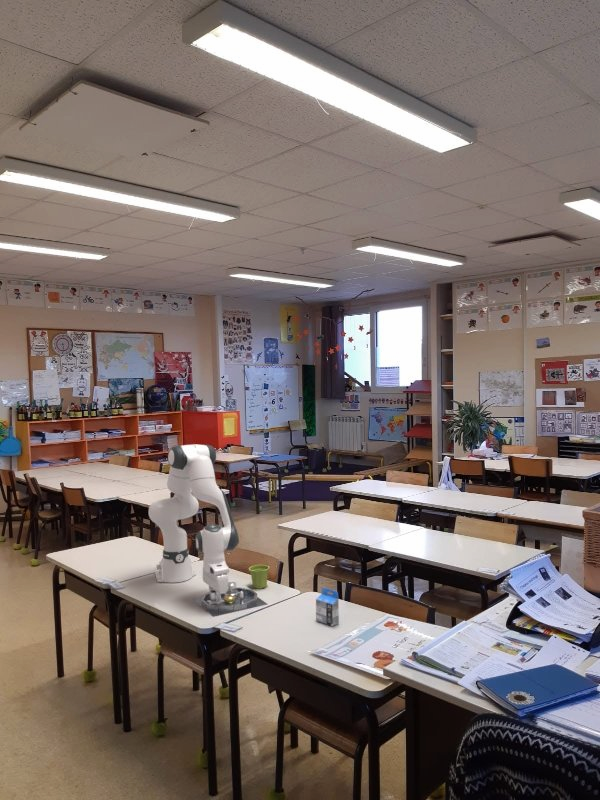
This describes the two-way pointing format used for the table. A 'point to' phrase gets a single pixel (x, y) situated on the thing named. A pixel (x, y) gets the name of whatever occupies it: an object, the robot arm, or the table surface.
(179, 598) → the table surface
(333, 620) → the label tape box
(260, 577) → the plant pot
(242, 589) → the carrier
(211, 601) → the planet gear
